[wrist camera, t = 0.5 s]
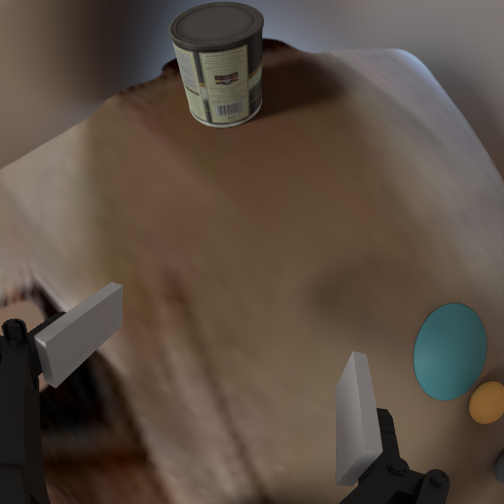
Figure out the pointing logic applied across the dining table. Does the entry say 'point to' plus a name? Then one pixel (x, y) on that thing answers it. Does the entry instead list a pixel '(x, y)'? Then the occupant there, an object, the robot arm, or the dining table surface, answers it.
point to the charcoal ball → (499, 468)
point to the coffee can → (220, 61)
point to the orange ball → (487, 402)
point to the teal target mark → (449, 351)
